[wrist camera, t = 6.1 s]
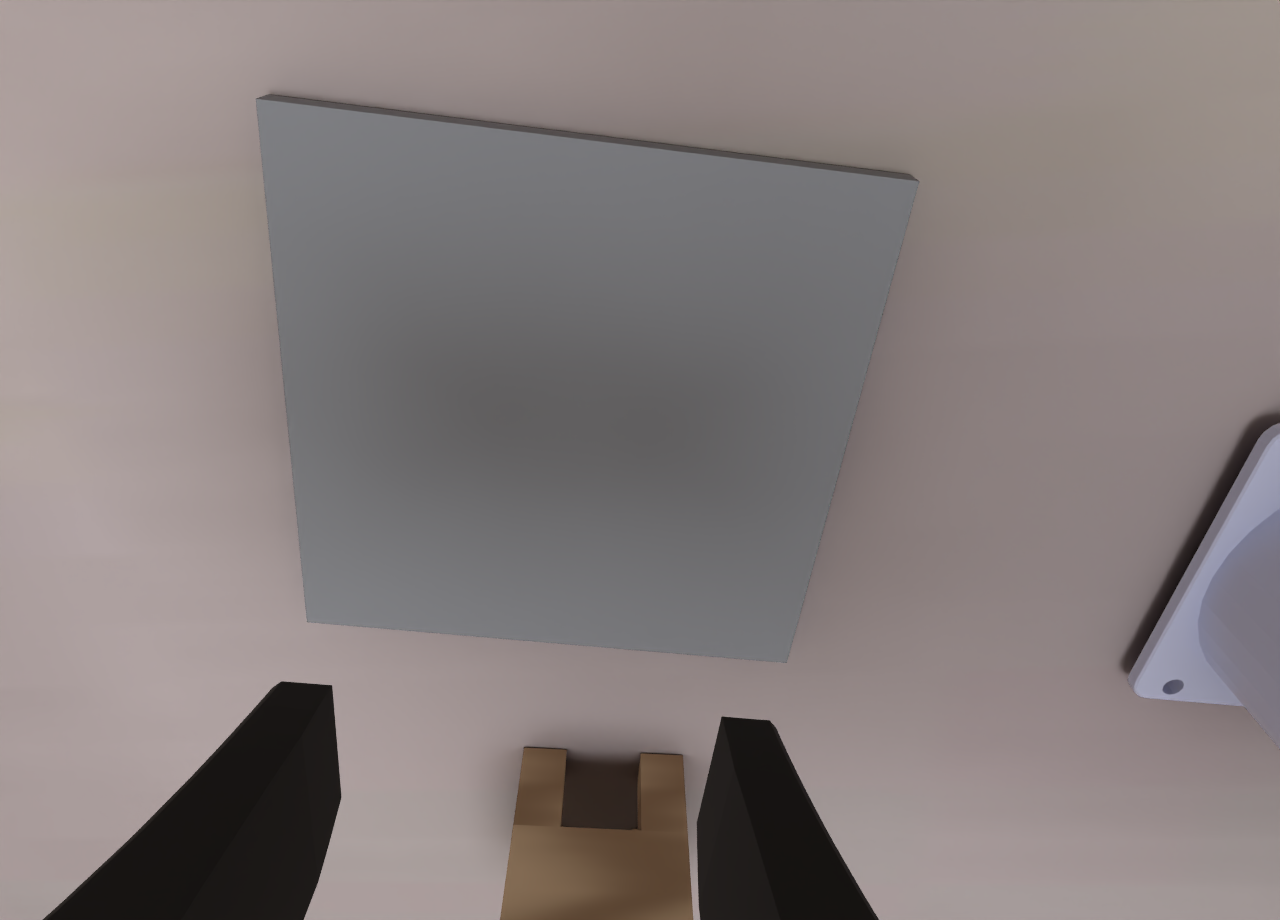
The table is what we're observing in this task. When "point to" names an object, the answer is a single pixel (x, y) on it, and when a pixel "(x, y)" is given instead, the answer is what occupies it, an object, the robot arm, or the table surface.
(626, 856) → the notched wooden block
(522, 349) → the slate mat
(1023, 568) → the table surface
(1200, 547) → the robot arm
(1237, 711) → the table surface
